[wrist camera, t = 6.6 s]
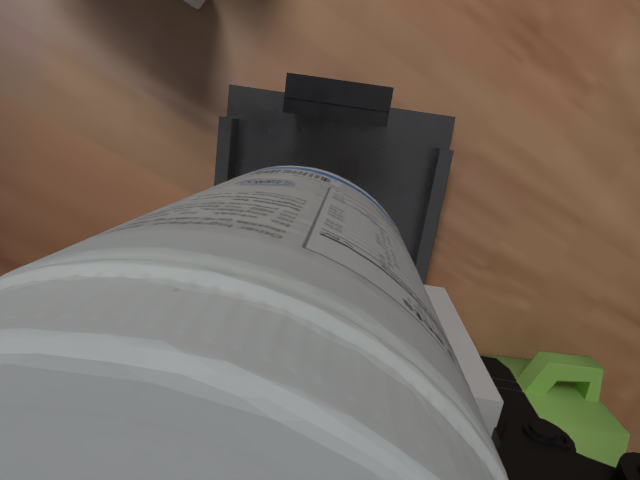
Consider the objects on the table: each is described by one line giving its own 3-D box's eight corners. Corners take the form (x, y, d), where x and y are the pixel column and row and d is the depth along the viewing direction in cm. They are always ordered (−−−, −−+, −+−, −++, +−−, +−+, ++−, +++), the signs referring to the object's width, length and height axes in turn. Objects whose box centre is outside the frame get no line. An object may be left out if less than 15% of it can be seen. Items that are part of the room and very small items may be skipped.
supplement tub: (282, 411, 20) (108, 1078, 6) (140, 256, 19) (-513, 662, 5) (458, 292, 18) (820, 908, 4) (313, 107, 17) (57, 27, 2)
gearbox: (544, 494, 44) (598, 594, 35) (447, 483, 44) (475, 580, 35) (594, 336, 39) (672, 405, 30) (484, 324, 39) (528, 388, 30)
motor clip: (233, 72, 35) (175, 49, 24) (455, 104, 35) (502, 95, 23) (210, 363, 43) (156, 451, 31) (393, 395, 42) (405, 496, 31)
